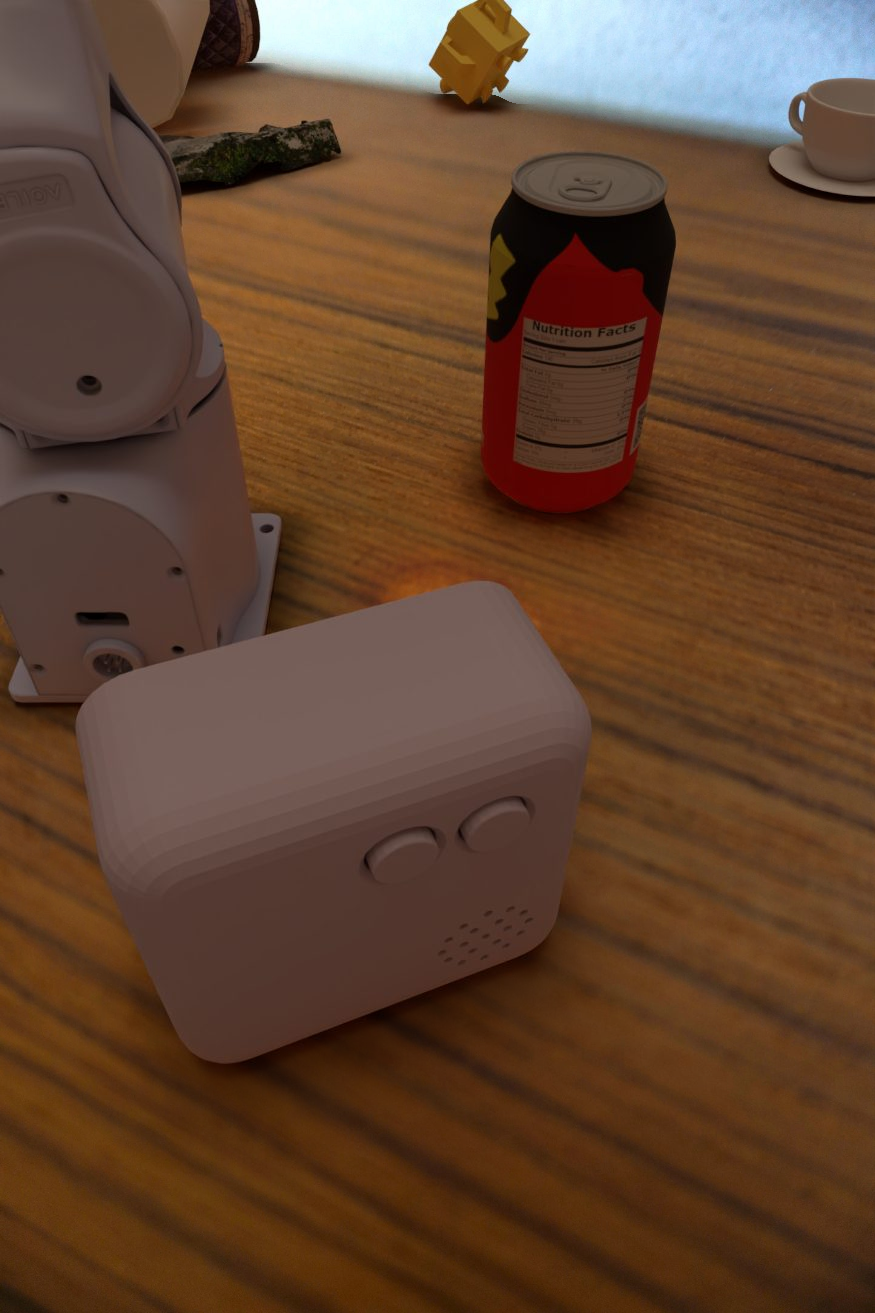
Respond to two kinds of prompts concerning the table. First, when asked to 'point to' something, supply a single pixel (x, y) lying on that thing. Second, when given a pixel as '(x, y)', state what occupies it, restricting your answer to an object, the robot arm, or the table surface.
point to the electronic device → (336, 812)
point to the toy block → (479, 50)
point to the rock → (249, 150)
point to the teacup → (832, 138)
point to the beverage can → (573, 326)
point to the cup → (152, 49)
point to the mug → (229, 35)
